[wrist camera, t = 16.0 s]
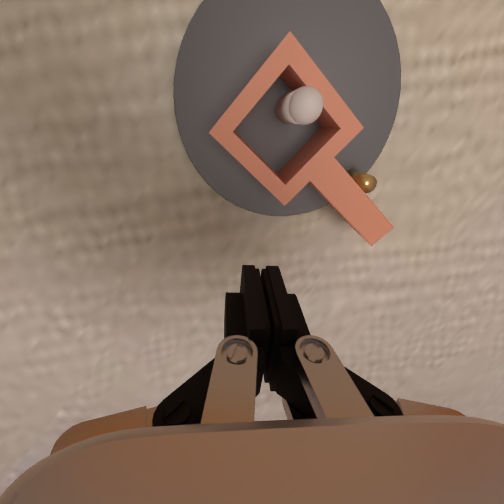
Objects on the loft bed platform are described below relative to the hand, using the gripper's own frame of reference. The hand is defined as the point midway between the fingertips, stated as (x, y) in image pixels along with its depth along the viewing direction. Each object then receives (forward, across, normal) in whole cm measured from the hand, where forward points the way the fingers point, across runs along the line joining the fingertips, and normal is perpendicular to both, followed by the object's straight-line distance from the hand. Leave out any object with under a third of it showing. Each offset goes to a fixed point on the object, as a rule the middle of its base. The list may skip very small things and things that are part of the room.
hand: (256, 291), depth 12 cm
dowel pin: (+12, -8, -3) cm, 15 cm away
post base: (+12, -3, -8) cm, 14 cm away
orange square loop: (+11, -5, -4) cm, 13 cm away
